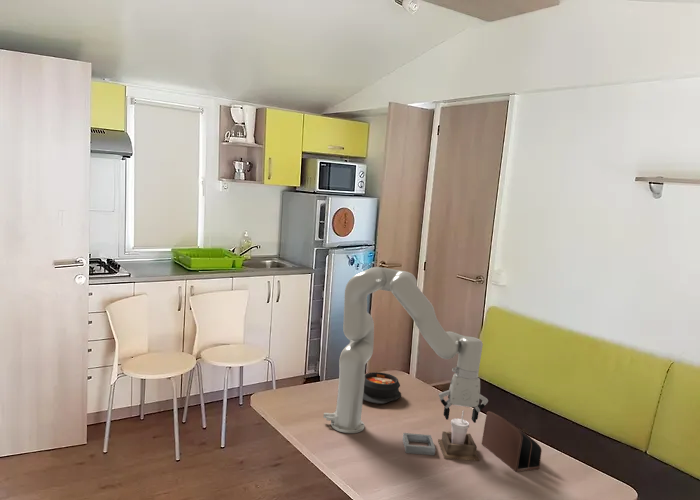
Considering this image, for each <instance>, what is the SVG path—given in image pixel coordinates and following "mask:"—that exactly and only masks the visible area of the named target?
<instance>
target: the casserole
mask: <svg viewBox="0 0 700 500" xmlns="http://www.w3.org/2000/svg"><path fill="white" fill-rule="evenodd" d="M399 388H401V383H400V382H399V378H398V377H396V376H395V375H392V374H389V373H385V372H377V371H375V372H368V373H365V383H364V393H363V401H365V402H367V403H372V404H377V405H378V404H379V405H384V404H387V403H389V402H393V401H396V400H398V399H400V398H401V396H402V395H401V394H402V393H401V392H400V389H399Z"/></svg>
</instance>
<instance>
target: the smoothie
mask: <svg viewBox="0 0 700 500" xmlns="http://www.w3.org/2000/svg"><path fill="white" fill-rule="evenodd" d="M464 415H465V410H464V409H463V410H462V412H461V418H457V417H456V418H452V419H451V420H450V425H451V432H452V444H464V441H465V437H466V433H467V434H468V429H469V428H470V423H469V421H467V420H466V419H464Z"/></svg>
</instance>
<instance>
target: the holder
mask: <svg viewBox="0 0 700 500" xmlns="http://www.w3.org/2000/svg"><path fill="white" fill-rule="evenodd" d="M410 442H413V443H425V444H427V445H418V444H416V445H415V444H410ZM402 443H403V447H404V452H405V453H406V454H415V455H416V454H417V455H426V456H435V455H436V446H435V442H434V440H433V437H432V435H431V434H423V433H422V434H421V433H409V432H403V434H402Z"/></svg>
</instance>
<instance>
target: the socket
mask: <svg viewBox="0 0 700 500" xmlns="http://www.w3.org/2000/svg"><path fill="white" fill-rule="evenodd" d="M437 439H438V438H437ZM437 443H438V446H439V448H440V451H441V453H442V456H443V458H444V459H451V460H461V461H470V462H471V461H473V462H479V461H480V457H479V455H478V453H477V449H478V446H477V444H476V443H475V440H474V439H473V437H472V435H471V433H468V432H467V433H466V437H465V441H464V444H452V431H442V434H441V438H439V439H438V440H437Z"/></svg>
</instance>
